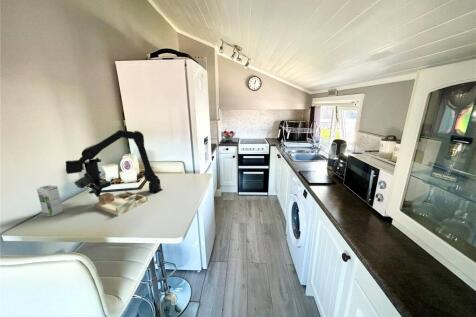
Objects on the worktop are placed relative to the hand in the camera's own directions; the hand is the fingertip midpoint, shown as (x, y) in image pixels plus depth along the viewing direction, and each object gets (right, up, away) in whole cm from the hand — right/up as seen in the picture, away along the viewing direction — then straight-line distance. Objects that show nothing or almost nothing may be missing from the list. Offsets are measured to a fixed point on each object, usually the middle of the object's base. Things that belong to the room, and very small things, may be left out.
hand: (97, 196), depth 108 cm
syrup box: (-15, -7, -10) cm, 20 cm away
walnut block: (+7, -2, -3) cm, 8 cm away
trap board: (+15, -4, -1) cm, 15 cm away
